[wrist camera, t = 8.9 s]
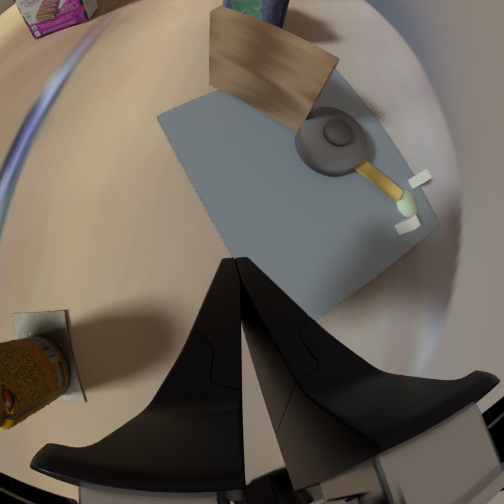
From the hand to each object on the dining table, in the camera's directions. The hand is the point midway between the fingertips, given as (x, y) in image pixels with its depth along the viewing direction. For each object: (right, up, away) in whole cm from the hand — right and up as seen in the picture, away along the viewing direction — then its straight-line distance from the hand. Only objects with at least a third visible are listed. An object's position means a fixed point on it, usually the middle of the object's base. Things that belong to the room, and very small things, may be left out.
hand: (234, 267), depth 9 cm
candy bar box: (-29, +37, +14) cm, 49 cm away
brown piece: (+5, +11, +14) cm, 19 cm away
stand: (+6, +8, +15) cm, 18 cm away
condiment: (-18, -9, +10) cm, 23 cm away
